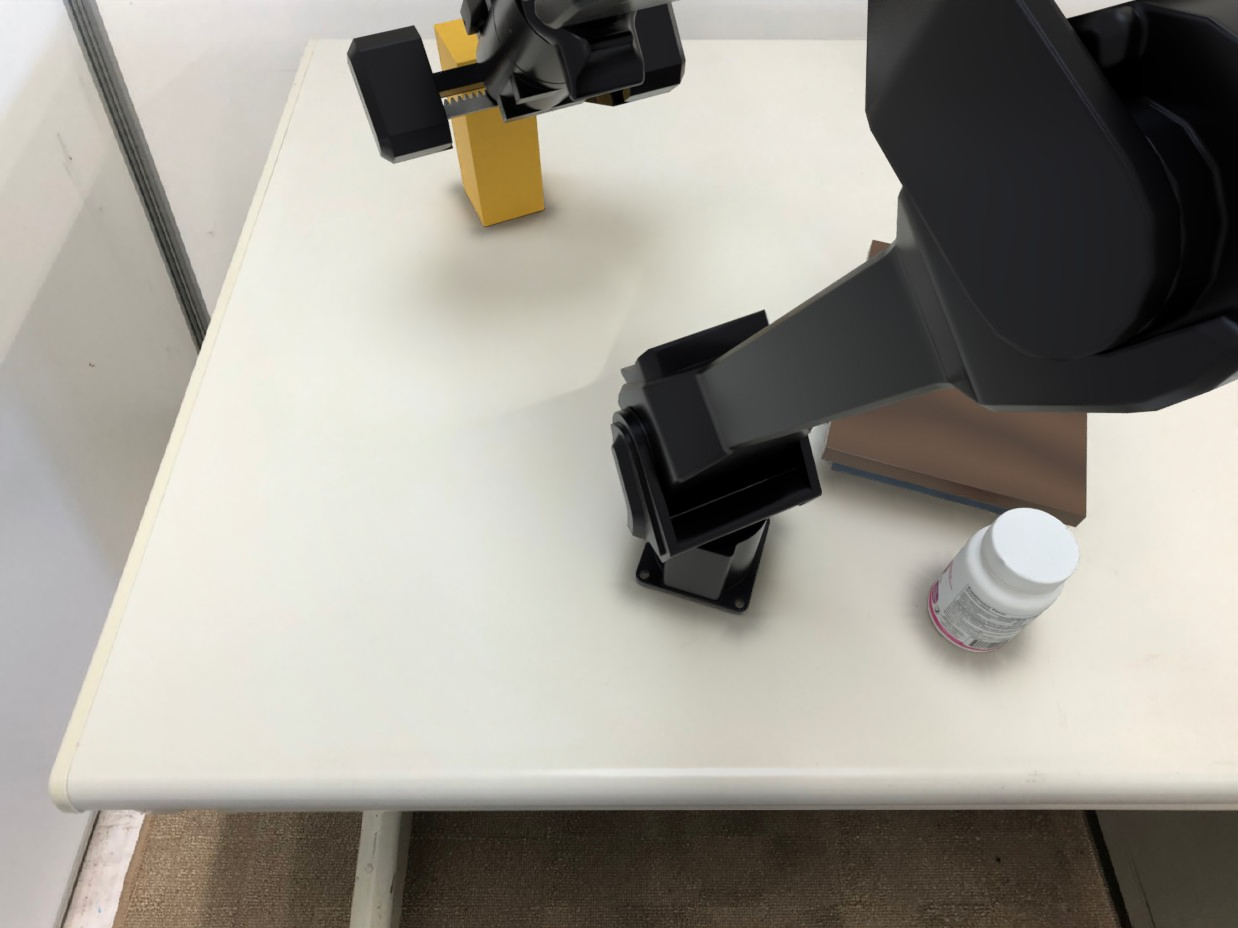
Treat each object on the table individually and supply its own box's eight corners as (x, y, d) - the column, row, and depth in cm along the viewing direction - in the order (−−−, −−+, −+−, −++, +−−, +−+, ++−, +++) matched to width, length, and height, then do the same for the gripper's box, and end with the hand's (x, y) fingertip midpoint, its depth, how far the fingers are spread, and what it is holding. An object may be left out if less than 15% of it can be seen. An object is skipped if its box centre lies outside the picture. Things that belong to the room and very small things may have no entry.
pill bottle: (948, 558, 46) (1010, 482, 39) (1026, 607, 44) (1106, 537, 37) (909, 618, 44) (967, 549, 37) (989, 672, 42) (1065, 610, 35)
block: (544, 209, 62) (530, 46, 51) (484, 227, 61) (456, 63, 50) (522, 172, 64) (504, 8, 53) (463, 188, 63) (433, 24, 52)
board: (1045, 556, 46) (1086, 517, 42) (807, 490, 48) (825, 447, 44) (1054, 336, 55) (1088, 286, 51) (854, 289, 57) (872, 239, 54)
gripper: (679, -196, 39) (593, -52, 53) (295, -131, 34) (317, 5, 49) (735, 46, 41) (639, 119, 56) (387, 133, 37) (381, 187, 52)
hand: (501, 105), depth 53 cm, fingers open, 9 cm apart
